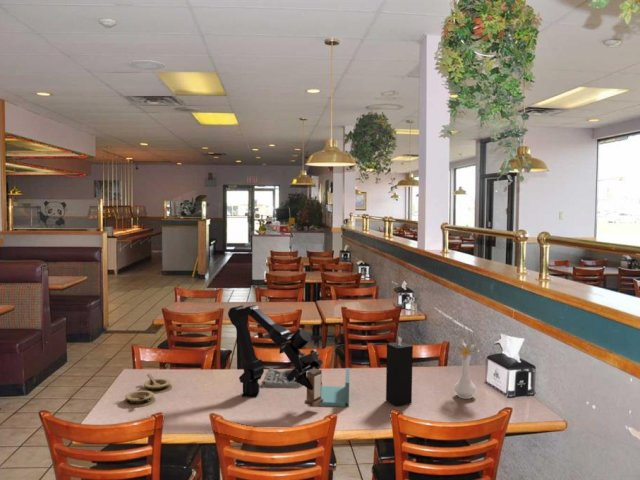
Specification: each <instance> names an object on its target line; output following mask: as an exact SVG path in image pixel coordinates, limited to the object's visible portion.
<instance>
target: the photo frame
mask: <svg viewBox="0 0 640 480" xmlns="http://www.w3.org/2000/svg"><path fill="white" fill-rule="evenodd" d="M322 374H323V373H322V369H320V368H319V369H314V370H311V371H306V376H307V378H308V380H309V382H310V383H311V385H312V387H313V390H310V389H308V388H306V399H305V400H304V404H305V405H308V406H312V407H317V405H318V404H320V403H322V402H323V399H321V386H322V385H321V382H322Z"/></svg>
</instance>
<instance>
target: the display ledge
mask: <svg viewBox="0 0 640 480" xmlns="http://www.w3.org/2000/svg"><path fill="white" fill-rule="evenodd" d="M344 382H345V384H344V385H345V386H341V385H340V386H337V385H335V386H334V385H333V386H332V385H321V399H323V402H322V403H320V404H318V405H320V406H321V407H322V406H323V407H347V408H348V407H349V406H350V367H346V368H345V381H344Z"/></svg>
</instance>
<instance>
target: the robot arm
mask: <svg viewBox="0 0 640 480" xmlns="http://www.w3.org/2000/svg"><path fill="white" fill-rule="evenodd" d="M227 315H228V319H229V320H230V323H231V324H232V325H233V326H234V327H235V329H236V332H237V336H238V340H239V344H240V346H241V352H242V354H243V358H244V362H243V366H242V367H243V373H242V374H241V375H240V376H239V378H238V379H239V383H242V394H241V397H242V398H245V397H246V398H247V397H248V398H257V397H258V395H259V394H260V383H259V381H260V380H261V379H262V376H263V375H264V372H265V370H264V369H265V366H264V363H263V360H262V359H261V358H260V359H259V358H258V357H257V356H256V352H255V349H254V345H253V342H252V338H251V334H250V331H249V327H248V322H249V317H251V319H253V320H254V321H255V322H256V323H257V324H258V325H259V326H261V327H262V328H263V329H264V330H265V331H266V332H267V333H268V335H269V336H268V337H269V338H270V340H271V341H272V342H273V343H274V344H275V345H276V346H279V351H278V353H279V354H280V355H281V354H283V353H284V354H285V356H286V358H287V359H288V361H289V362H288V364H289V365H290V366H291V365H292V366H293V367H294V368H292V369H293V370H292V371H291V372H290V373H289V374H288V375H287V380H288V381H289V382H291V381H293V380H294V377H295V380H294V382H297V383H299V384H301V385H303V387H305V388H306V389H307V388H308V389H310V390H313V387H312V385H311V383H310V382H309V380H308V378H307V372H309V371H311V370H314V369H319V370H320V368H321V366H322V365H323V363H324V362H323V361H322V359H320V358H319V356H320V353H319V351H317V349H316V348H314V349H312V350H310V351H309V352H310V353H307V354H306V353H305V352H302V351H301V350H303V349H304V348H305V347H306V346H307V345H308V344H309V343H310V342H311V341H312V336H311V334H310V333H309V332H308V331H306V330H304V329H303V327H302V328H301V327H300V328H297V330H295V332H291V331H290V330H289V329H287V327H284V326H283V325H280V324H277V323H276V322H274V320H272V319H271V318H270V317H269V316H268V315H267V314H265V313H264V312H263V311H262V310H261V309H260V307H259V306H258V305H256V304H252V305H249V306H245V305H242V304H241V305H237V306H233V307H230V308H229V310H228V312H227ZM283 344H284V345H283ZM280 345H281V346H280ZM321 386H323V382H322V381H321Z"/></svg>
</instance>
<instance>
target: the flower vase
mask: <svg viewBox="0 0 640 480" xmlns="http://www.w3.org/2000/svg"><path fill="white" fill-rule="evenodd" d="M449 350H451V351H450V353H449V354H450V356H451V359H453V358H454V357H455V356H461V361H462V362H461V363H462V364H461V375H460V378H459V380H458V381H457V382H456V383H455V384H454V386H453V387H454V388H453V391H454V392H455V393H456V394H457V397H458V398H461V399H465V400H469V399H471V398H473V396H474V395H475V394H476V392H477V388H476V385H475V384H474V383H473V381H472V379H471V375H470V361H471V357H472V356H473V355H474V354H476V355H477V356H478V357H479V358H483V357H482V354H481V353H480V352H481V351H480V347H479V345H478V344H477V341H474V344H472V341H471V340H470V339H468V340H467V341H466V343H465V340H464V339H463V338H460V339H459V340H458V339H456V338H455V340H454V342H453V343H452V345H451V346H450V347H449Z"/></svg>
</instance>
